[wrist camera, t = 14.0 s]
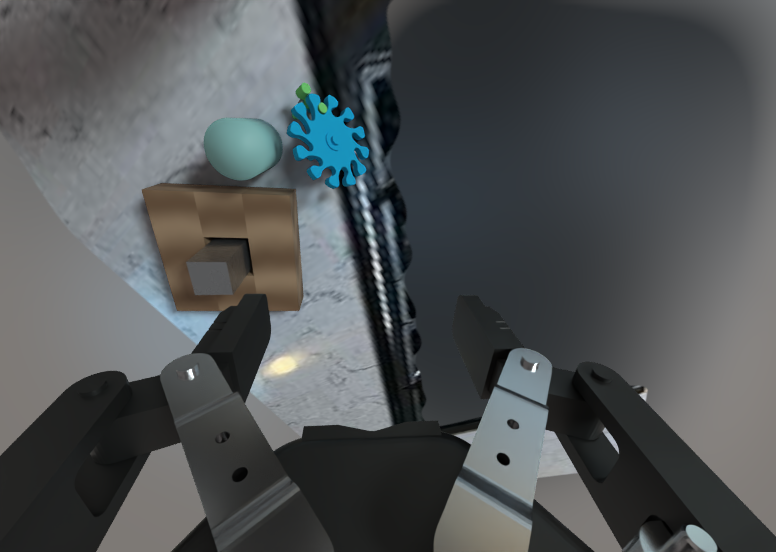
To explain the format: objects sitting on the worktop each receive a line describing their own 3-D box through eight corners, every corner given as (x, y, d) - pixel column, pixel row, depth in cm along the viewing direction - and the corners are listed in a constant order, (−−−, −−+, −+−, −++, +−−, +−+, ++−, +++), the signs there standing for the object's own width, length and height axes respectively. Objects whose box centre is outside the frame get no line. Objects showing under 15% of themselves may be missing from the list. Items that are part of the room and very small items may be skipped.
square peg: (222, 231, 41) (185, 262, 32) (253, 231, 41) (226, 262, 32) (228, 258, 43) (195, 294, 34) (258, 259, 43) (233, 294, 34)
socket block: (161, 183, 37) (141, 189, 34) (295, 188, 39) (289, 195, 36) (191, 295, 45) (177, 310, 41) (303, 296, 46) (299, 310, 43)
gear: (383, 170, 38) (322, 198, 32) (354, 182, 42) (296, 209, 36) (345, 74, 34) (268, 85, 28) (318, 98, 38) (246, 112, 32)
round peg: (229, 116, 35) (198, 115, 28) (280, 120, 36) (261, 120, 28) (237, 168, 37) (210, 179, 30) (284, 170, 38) (268, 181, 31)
